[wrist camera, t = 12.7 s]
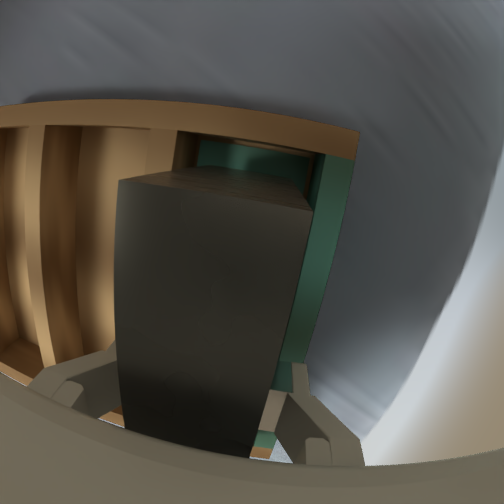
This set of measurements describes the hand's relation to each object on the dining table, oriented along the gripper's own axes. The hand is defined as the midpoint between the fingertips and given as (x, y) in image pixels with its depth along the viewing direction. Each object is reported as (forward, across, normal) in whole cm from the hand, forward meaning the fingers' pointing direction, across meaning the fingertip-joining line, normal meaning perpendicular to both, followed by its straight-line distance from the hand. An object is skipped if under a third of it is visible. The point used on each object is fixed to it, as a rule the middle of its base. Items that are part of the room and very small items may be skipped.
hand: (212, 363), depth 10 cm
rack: (+6, -6, 0) cm, 9 cm away
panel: (+3, 0, 0) cm, 3 cm away
